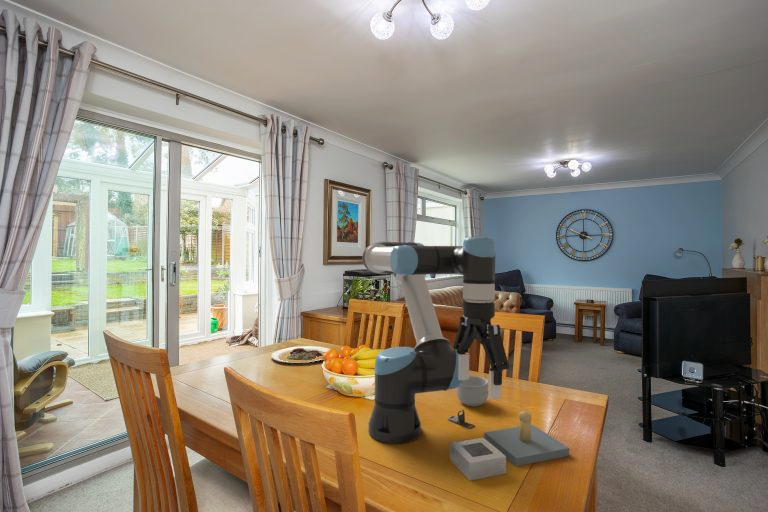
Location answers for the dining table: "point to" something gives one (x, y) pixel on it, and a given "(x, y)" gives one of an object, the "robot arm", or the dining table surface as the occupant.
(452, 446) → the grey square ring block
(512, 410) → the dining table surface
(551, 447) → the keeper
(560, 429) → the dining table surface
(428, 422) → the dining table surface
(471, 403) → the teacup
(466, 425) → the strap clip
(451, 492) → the dining table surface
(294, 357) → the plated food
